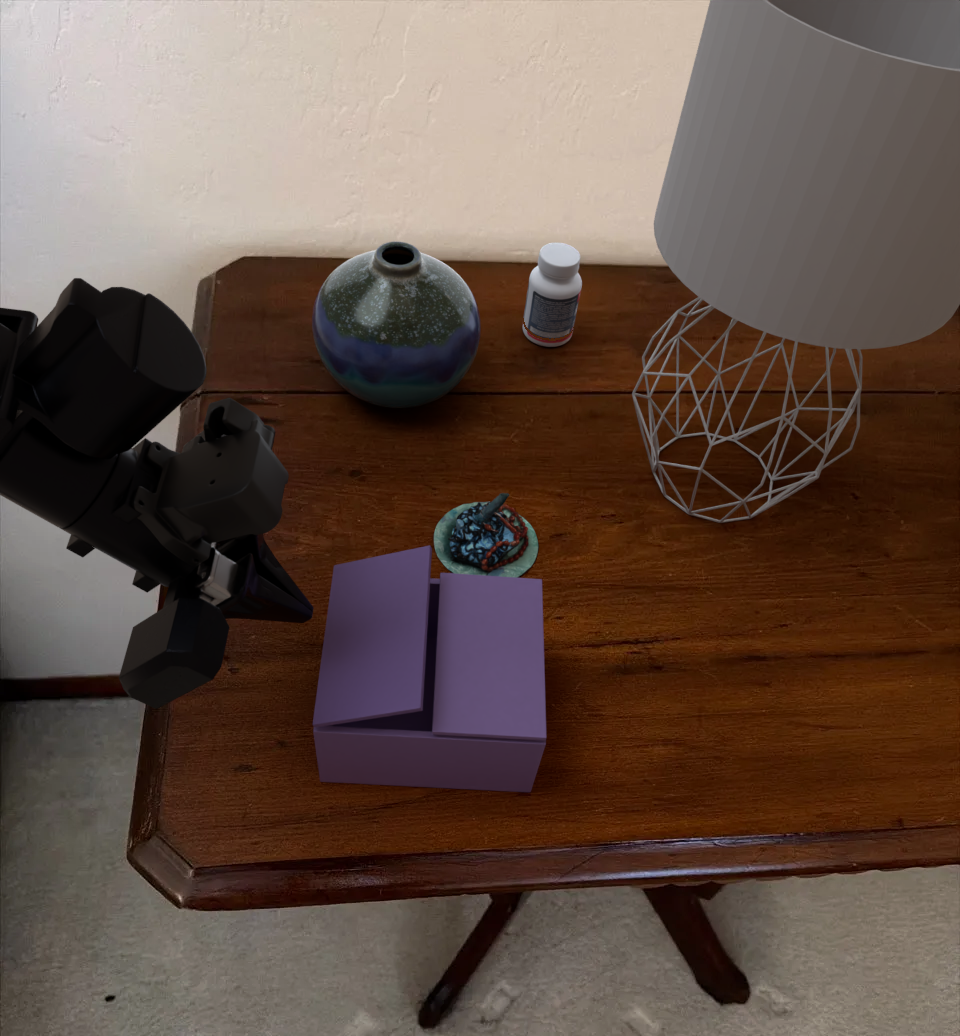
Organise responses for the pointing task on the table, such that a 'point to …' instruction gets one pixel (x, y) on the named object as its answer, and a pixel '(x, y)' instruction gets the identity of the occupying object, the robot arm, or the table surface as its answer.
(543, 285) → the pill bottle
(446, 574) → the file box
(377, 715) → the flap
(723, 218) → the table lamp
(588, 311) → the table surface
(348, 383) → the vase
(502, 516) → the dish
